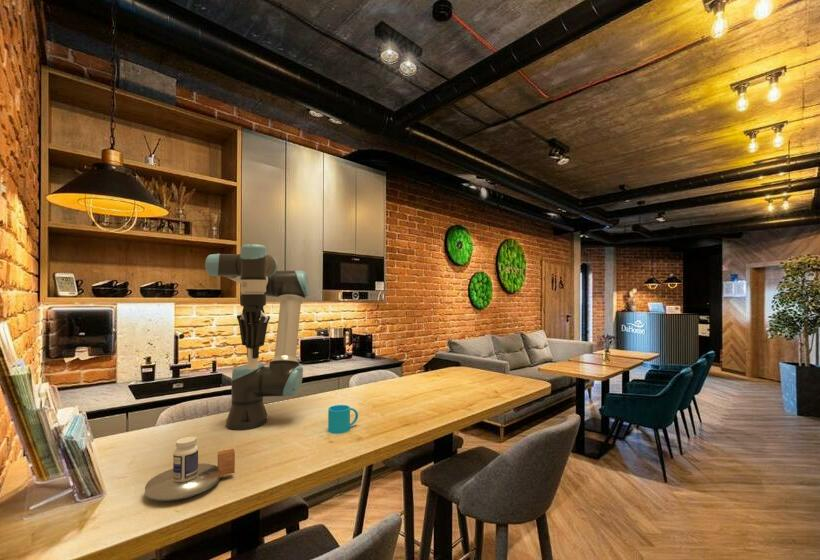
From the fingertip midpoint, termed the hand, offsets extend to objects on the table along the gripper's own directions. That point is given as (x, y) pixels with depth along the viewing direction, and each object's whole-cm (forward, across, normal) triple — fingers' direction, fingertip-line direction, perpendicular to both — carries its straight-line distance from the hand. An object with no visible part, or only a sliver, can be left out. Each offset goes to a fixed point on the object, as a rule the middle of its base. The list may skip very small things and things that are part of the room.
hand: (252, 368), depth 117 cm
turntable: (+27, 0, -19) cm, 33 cm away
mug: (+29, +8, +35) cm, 46 cm away
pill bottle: (+25, 0, -20) cm, 32 cm away
